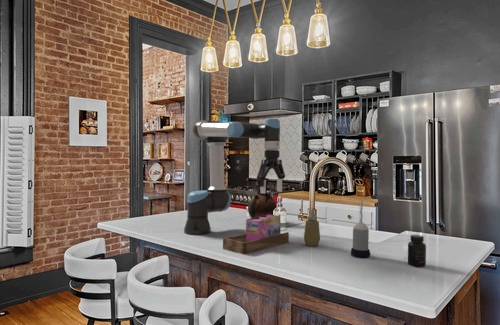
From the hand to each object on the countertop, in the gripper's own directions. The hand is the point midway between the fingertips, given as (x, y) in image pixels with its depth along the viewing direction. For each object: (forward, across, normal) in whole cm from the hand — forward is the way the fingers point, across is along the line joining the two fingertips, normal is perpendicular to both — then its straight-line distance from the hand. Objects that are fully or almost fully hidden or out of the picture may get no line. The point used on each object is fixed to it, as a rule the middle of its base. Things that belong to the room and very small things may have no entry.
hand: (271, 192), depth 182 cm
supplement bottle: (+26, +12, -66) cm, 72 cm away
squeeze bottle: (+26, +12, -16) cm, 33 cm away
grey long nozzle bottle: (+26, +10, -42) cm, 51 cm away
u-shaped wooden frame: (+26, -7, +3) cm, 27 cm away
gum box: (+26, -2, +3) cm, 26 cm away
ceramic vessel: (+26, +43, +40) cm, 64 cm away
